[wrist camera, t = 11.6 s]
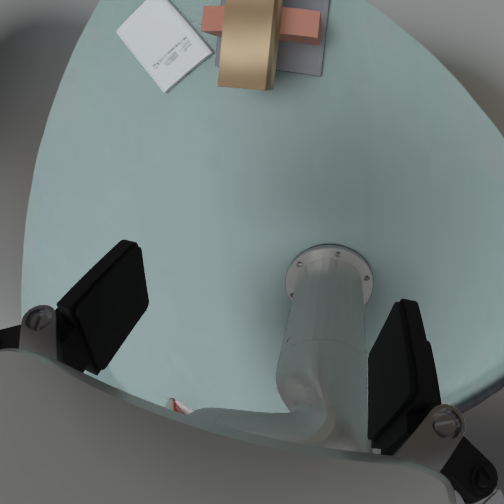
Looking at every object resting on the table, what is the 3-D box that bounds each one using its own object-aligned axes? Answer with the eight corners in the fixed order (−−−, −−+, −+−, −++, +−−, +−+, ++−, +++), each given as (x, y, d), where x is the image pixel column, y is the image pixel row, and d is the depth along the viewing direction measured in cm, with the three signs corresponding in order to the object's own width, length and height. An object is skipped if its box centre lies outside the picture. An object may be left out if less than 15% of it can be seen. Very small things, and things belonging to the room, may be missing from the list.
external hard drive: (163, -8, 27) (216, 53, 31) (121, 32, 31) (168, 93, 35) (157, -11, 26) (211, 52, 30) (114, 32, 30) (162, 93, 34)
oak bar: (273, 89, 26) (264, 90, 22) (231, 85, 26) (217, 86, 23) (287, -41, 18) (280, -56, 15) (244, -41, 19) (232, -56, 15)
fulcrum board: (320, 76, 30) (318, 74, 24) (217, 66, 32) (193, 64, 26) (329, -2, 24) (328, -20, 19) (224, -8, 26) (202, -24, 20)
